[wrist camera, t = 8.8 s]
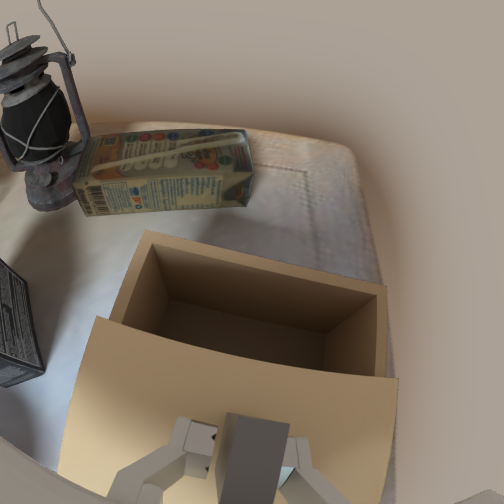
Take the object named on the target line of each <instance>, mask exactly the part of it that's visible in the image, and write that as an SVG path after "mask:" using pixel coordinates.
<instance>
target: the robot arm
mask: <svg viewBox="0 0 504 504" xmlns="http://www.w3.org/2000/svg"><path fill="white" fill-rule="evenodd" d="M217 427H218V425H214V424H209V423H205V422H202V421H198V420H194V419H190V418H186V417H183V416H178V417H177V419H176V422H175V425H174V428H173V431H172V434H171V437H170V440H169V443H168V446H164V445H163V446H162V447H160V448H158V449H157V450H155V451H153V452H152V453H150V454H148V455H146V456H145V457H143V458H141V459H139V460H138V461H136V462H134V463H132V464H130V465H129V466H127V467H125V468H123V469H121V470H119V471H118V472H117V474H116V476H115V478H114V481H113V483H112V485H111V487H110V490H109V492H108V494H107V496H106V497H104V496H101V495H99V494H97V493H95V492H92V491H90V490H88V489H86V488H84V487H82V486H80V485H78V484H76V483H74V482H72V481H70V480H68V479H66V478H64V477H62V476H61V475H59V474H57V473H55V472H54V471H52V470H50V469H48V468H47V467H45V466H43V465H42V464H40V463H39V462H37V461H35V460H34V459H32V458H31V457H29V456H28V455H26V454H25V453H23V452H22V451H20V450H19V449H18V448H16V447H15V446H13V445H12V444H11V443H9V442H8V441H7V440H5V439H4V438H3V437H2V436H0V504H163V492H164V491H166V490H167V489H168V488H169V487H171V486H172V485H173V484H175V483H176V482H177V481H178V480H180V479H181V478H182V477H183V476H184V475H185V476H190V477H195V478H200V479H205V480H206V478H207V474H208V470H209V466H210V463H211V459H212V455H213V450H214V444H215V442H214V441H215V437H216V433H217ZM277 490H280V492H281V494H282V495H283V497H284V498H285V500H286V501H287V502H288V504H352V503H351V502H350V501H349V500H348V499H347V498H346V497H345V496H344V495H343V494H341V493H340V492H339V491H338V490H337V489H336V488H335V487H334V486H333V485H332V484H331V483H330V482H329V481H328V480H327V479H326V478H325V477H324V476H323V475H322V474H321V473H320V472H319V471H318V470H317V469H313V465H312V459H311V453H310V446H309V440H308V438H307V437H294V436H288V438H287V444H286V449H285V453H284V458H283V463H282V468H281V472H280V477H279V481H278V486H277ZM455 504H504V496H502V495H501V494H499V493H497V492H495V491H493V490H485V491H482V492H480V493H478V494H476V495H474V496H471V497H469V498H467V499H464V500H462V501H460V502H457V503H455Z"/></svg>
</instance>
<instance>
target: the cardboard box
mask: <svg viewBox="0 0 504 504" xmlns="http://www.w3.org/2000/svg"><path fill="white" fill-rule="evenodd" d="M109 320H111V321H113V322H116V323H119V324H122V325H125V326H128V327H131V328H134V329H137V330H141V331H144V332H147V333H150V334H154V335H157V336H160V337H164V338H167V339H171V340H174V341H178V342H181V343H185V344H189V345H193V346H196V347H200V348H204V349H208V350H213V351H217V352H221V353H225V354H230V355H234V356H239V357H243V358H248V359H253V360H258V361H263V362H269V363H274V364H280V365H285V366H291V367H298V368H304V369H311V370H318V371H325V372H333V373H341V374H351V375H360V376H372V377H385V378H386V361H387V286H384V285H379V284H375V283H371V282H366V281H362V280H358V279H353V278H349V277H345V276H340V275H336V274H332V273H327V272H323V271H319V270H315V269H310V268H306V267H302V266H297V265H293V264H289V263H284V262H280V261H276V260H272V259H267V258H263V257H259V256H254V255H250V254H246V253H242V252H237V251H233V250H229V249H225V248H220V247H216V246H212V245H207V244H203V243H199V242H195V241H190V240H186V239H182V238H178V237H174V236H169V235H165V234H161V233H157V232H152V231H148V230H145V231H144V233H143V235H142V238H141V240H140V242H139V244H138V247H137V249H136V251H135V253H134V256H133V258H132V261H131V263H130V265H129V268H128V270H127V273H126V275H125V278H124V280H123V283H122V285H121V288H120V290H119V293H118V295H117V298H116V301H115V303H114V306H113V309H112V312H111V314H110V317H109Z"/></svg>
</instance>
